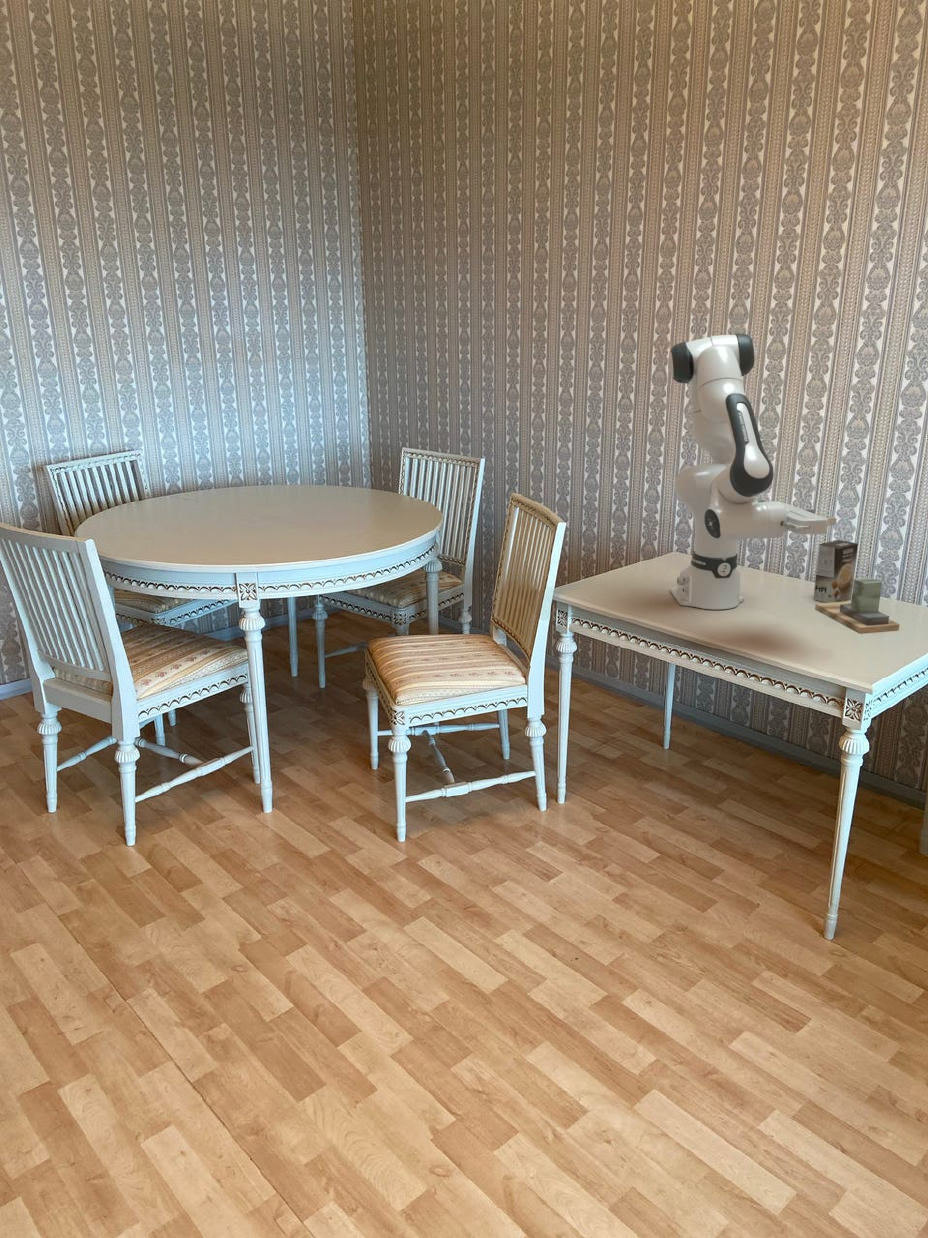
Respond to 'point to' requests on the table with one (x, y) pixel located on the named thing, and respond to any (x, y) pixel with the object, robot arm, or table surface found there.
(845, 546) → the coffee box
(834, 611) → the pine board
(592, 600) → the table surface
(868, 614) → the block
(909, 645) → the table surface
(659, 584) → the table surface
